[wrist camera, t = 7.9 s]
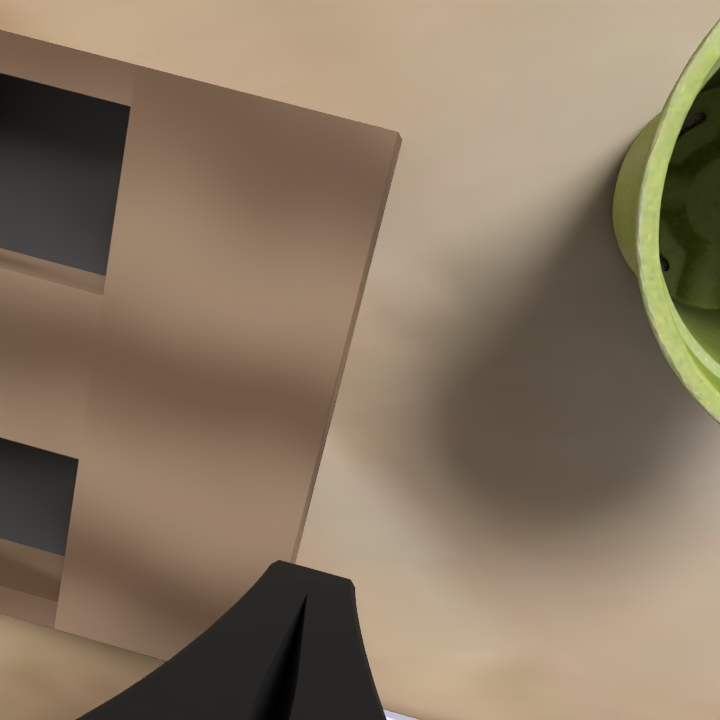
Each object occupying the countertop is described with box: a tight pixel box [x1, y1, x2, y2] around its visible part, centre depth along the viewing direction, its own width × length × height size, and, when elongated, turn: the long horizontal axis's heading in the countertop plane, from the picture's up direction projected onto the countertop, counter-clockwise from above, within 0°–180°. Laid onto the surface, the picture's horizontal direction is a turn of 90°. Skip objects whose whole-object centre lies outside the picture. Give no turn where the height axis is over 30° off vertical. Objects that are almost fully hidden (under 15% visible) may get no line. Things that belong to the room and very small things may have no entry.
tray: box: [0, 30, 402, 661], centre depth 19 cm, size 17×16×4 cm
